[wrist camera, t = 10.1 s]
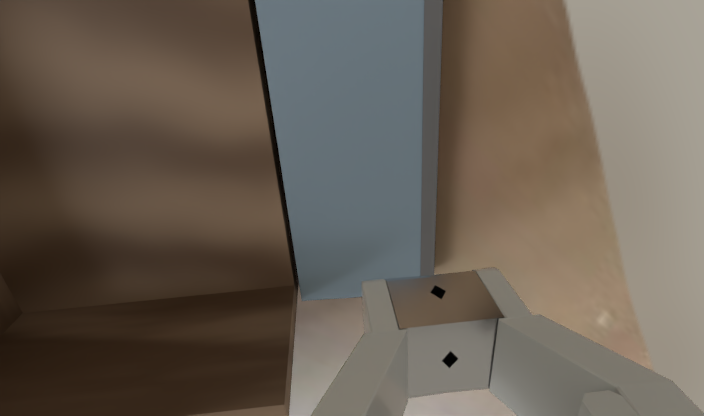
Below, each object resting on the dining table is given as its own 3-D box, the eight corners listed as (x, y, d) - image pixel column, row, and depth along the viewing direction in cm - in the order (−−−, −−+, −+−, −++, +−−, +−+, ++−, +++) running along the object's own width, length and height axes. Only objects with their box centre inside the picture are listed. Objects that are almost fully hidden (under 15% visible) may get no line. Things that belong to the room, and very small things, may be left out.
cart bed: (297, 286, 25) (288, 423, 17) (27, 313, 25) (-124, 470, 16) (237, -100, 17) (152, -219, 8) (-190, -74, 16) (-775, -172, 7)
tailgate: (303, 287, 25) (429, 279, 25) (301, 301, 24) (433, 292, 24) (245, -103, 16) (439, -118, 16) (237, -111, 15) (447, -128, 15)
